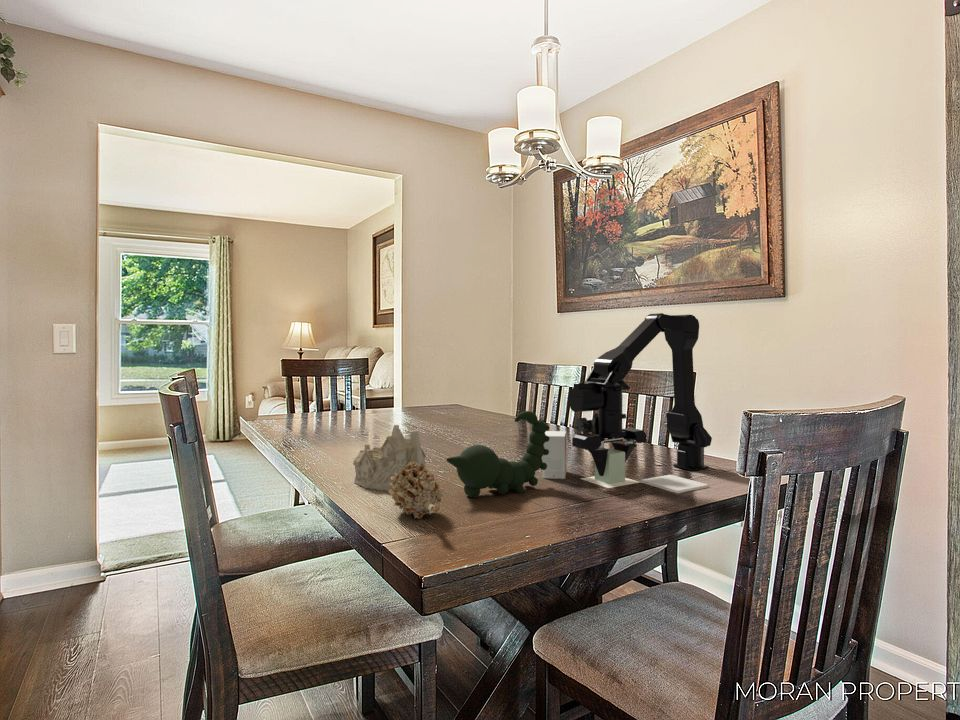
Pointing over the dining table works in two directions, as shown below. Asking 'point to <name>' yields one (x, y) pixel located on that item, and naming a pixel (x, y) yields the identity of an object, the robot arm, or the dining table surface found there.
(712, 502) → the dining table surface
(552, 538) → the dining table surface
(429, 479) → the pine cone
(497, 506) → the dining table surface
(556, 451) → the small box
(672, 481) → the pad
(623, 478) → the sage block
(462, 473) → the toy figurine
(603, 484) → the tile
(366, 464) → the ceramic cottage
